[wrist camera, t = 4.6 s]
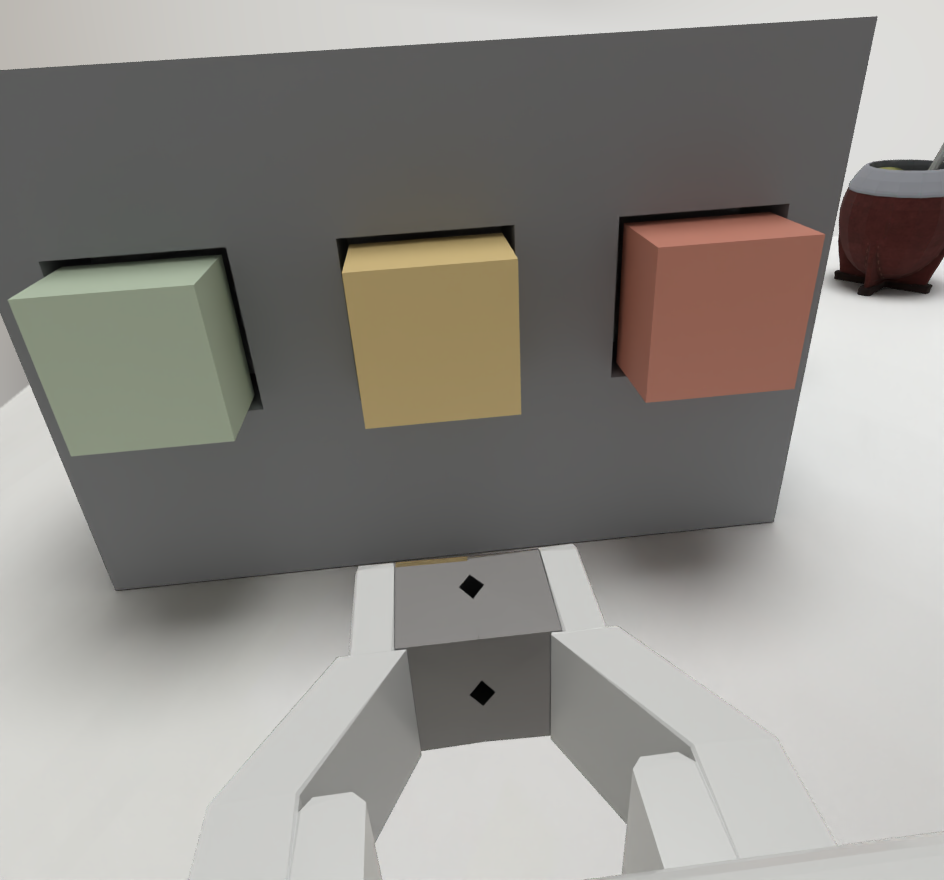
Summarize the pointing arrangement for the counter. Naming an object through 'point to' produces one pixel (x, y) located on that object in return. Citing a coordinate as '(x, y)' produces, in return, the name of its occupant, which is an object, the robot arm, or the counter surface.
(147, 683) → the counter surface
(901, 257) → the mate gourd
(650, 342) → the button brick
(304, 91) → the console
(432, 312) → the button ochre
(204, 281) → the button sage
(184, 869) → the counter surface
